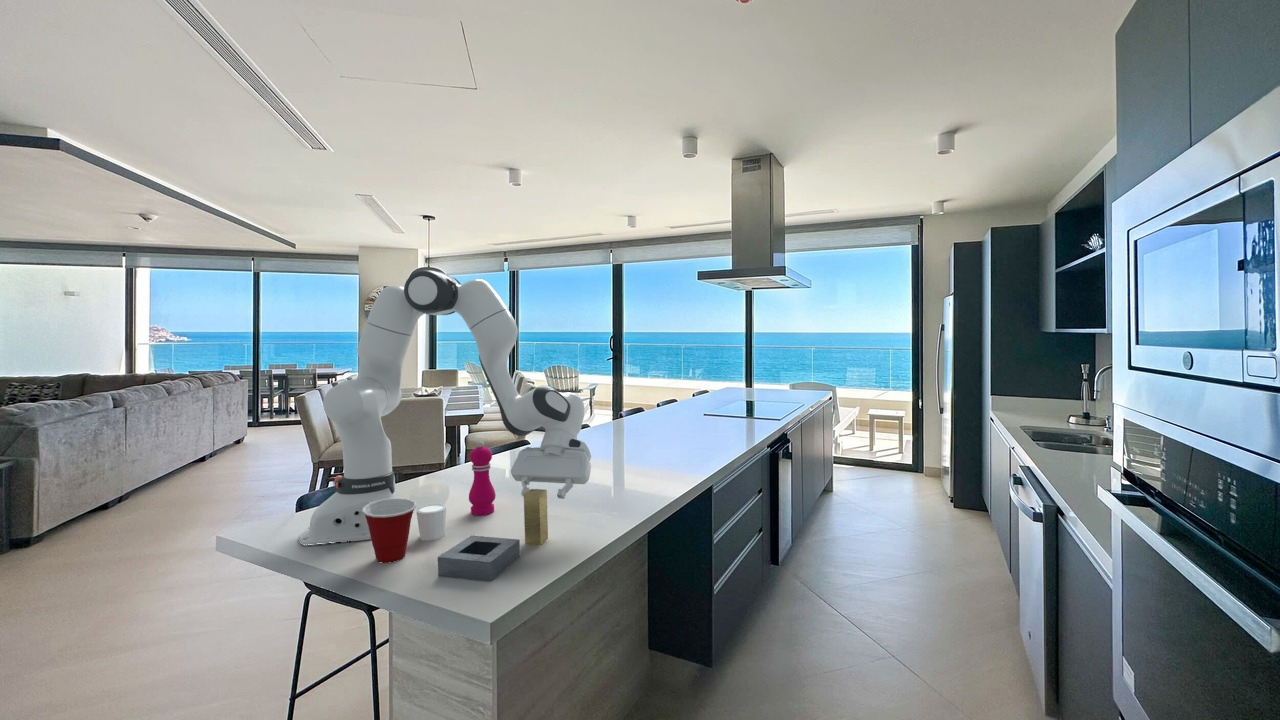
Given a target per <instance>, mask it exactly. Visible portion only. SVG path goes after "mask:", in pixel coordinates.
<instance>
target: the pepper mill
mask: <svg viewBox="0 0 1280 720" xmlns="http://www.w3.org/2000/svg"><path fill="white" fill-rule="evenodd" d="M476 444H477V445H476V447H474V448H473V449H471V451H470V453H469V460H470V462H471V463H472V465H471V467H472V468H471V471H473V481H472V485H471V487H470V490H469V494H468V501H469V503H470V504H471V506H470V514H471V515H472V516H476V517H477V516H479V517H480V516H487V515H490V514H493V513H494V512H495V504H494V501H495V500H496V497H497V496H496V490H495V487H494V485H493V484H492V482H491V479H490V469H491V463H490V462H491V460H492V459H493V452H492V451H491V449H490V448H489V447H487V446H485V443H484V441H481V440H480V441H478V442H477V443H476Z"/></svg>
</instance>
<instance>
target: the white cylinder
mask: <svg viewBox="0 0 1280 720" xmlns="http://www.w3.org/2000/svg"><path fill="white" fill-rule="evenodd" d="M415 511H416V512H415V513H416V517H417V526H418V533H419V539H420V540H421V541H424V540H425V542H427V541H435V540H439V539H441V537H442V538H443V537H444V536H445V532H446V531H445V530H446V518H447V517H446V512H447V506H446V505H444V504H440V503H439V504H428V505H423V506H421V507H419V508H417V509H416V510H415Z"/></svg>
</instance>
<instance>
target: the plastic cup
mask: <svg viewBox="0 0 1280 720" xmlns="http://www.w3.org/2000/svg"><path fill="white" fill-rule="evenodd" d="M416 508H417V503H416V501H414V500H412V499H408V498H403V497H402V498H398V497H394V498H393V499H384V500H379V501H375V502H372V503H370V504H367V505H366V506H365V507H363V510H362V512H363V513H364V515H365V517H366V519H367V524H368V527H369V531H370V536H371V539H370V540H371V543H372V548H373V550H374V556H375V559H376V562H377V563H379V562H382V563H381V564H390V563H389V562H391V563H395V562H394V561H396V562H398V561H397V560H399V561H400V559H401V560H403V559H404V558H405V557H406V554H407V546H408V542H409V535H410V529H411V523H412V517H413V514H414V512H415V509H416ZM403 557H404V558H403ZM402 558H403V559H402Z"/></svg>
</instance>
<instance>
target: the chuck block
mask: <svg viewBox="0 0 1280 720" xmlns="http://www.w3.org/2000/svg"><path fill="white" fill-rule="evenodd" d="M520 544H521V542H520V539H517V538H505V537H496V536H495V537H491V536H481V535H469V536H468V537H467V538H465V539H463V540H462V541H460V542H459V543H457V544H456V545H454V546H453V547H451V548H450V549H448V550H447V551H444V552H442V554H440V555H438V556H437V576H438V578H439V577H441V578H449V579H456V580H457V579H459V580H469V581H477V582H487V583H492V582H493V581H495V580H496V579H497V578H498V577H499V576H500V575H501V574H502V573H504V572H505V571H506V570H507V569H508V568H509V567H510V566H512V565H513V564H514V563H515V562H517V561H518V560H519V559H520V558H521V548H520V547H521V545H520Z"/></svg>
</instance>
